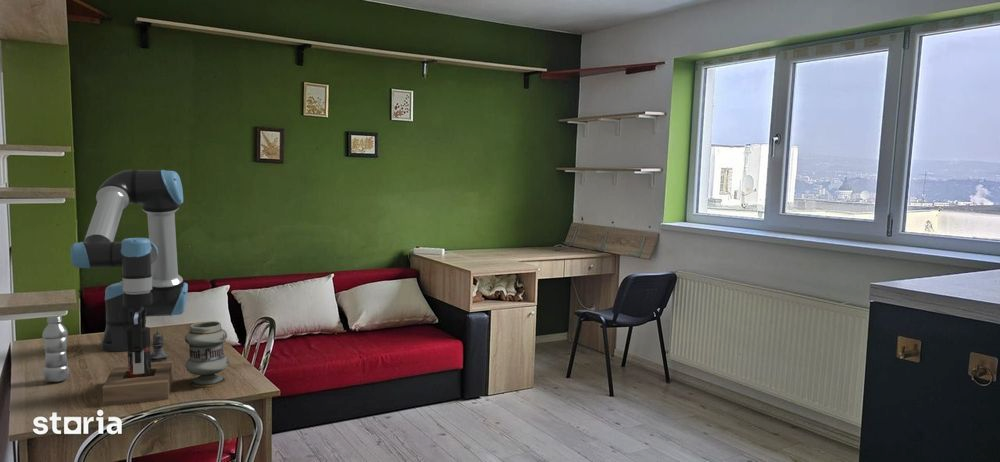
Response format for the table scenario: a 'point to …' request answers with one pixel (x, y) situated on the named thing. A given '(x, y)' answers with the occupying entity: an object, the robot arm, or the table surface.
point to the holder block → (138, 384)
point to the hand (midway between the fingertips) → (139, 370)
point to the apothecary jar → (206, 353)
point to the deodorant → (145, 350)
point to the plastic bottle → (55, 350)
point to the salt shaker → (158, 349)
